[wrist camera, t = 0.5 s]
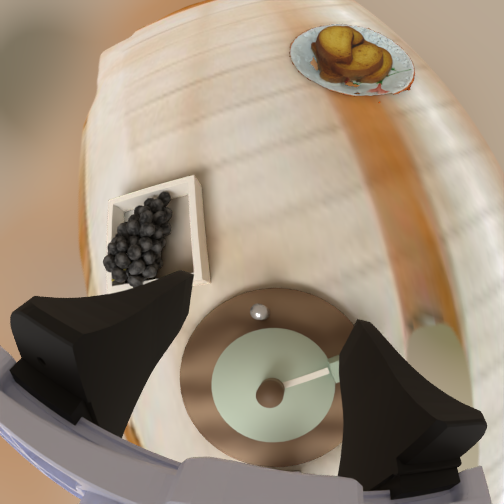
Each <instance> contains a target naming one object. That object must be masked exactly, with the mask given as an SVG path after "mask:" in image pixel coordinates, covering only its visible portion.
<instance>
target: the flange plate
mask: <svg viewBox="0 0 504 504" xmlns="http://www.w3.org/2000/svg"><path fill="white" fill-rule="evenodd" d="M268 378H276V379H279V380H280V381H281V382H282V383H283V385H284V387H285V392H284V396H283V400H282V402H281V403H280V404H279V405H278V406H276V407H274V408H266V407H263V406H261V405H260V404H259V403H258V401H257V399H256V391H257V389H258V388H259V386H260V384H261V383H262V382H263V381H264V380H265V379H268ZM335 382H336V383H338V382H340V381H339V355H337V356H334V357H331V358H329V359H328V358H327V356H326V355H325V353H324V352H323V351H322V350H321V348H320V347H319V346H318V345H317V344H316V343H315V342H313V341H312V340H310V339H309V338H308V337H306V336H304V335H302V334H300V333H297V332H295V331H292V330H288V329H281V328H266V329H260V330H256V331H252V332H250V333H247V334H245V335H243V336H241V337H239V338H238V339H236V340H235V341H234V342H232V343H231V344H230V345H229V346H228V347H227V348H226V349H225V350H224V351H223V353H222V354H221V355H220V357H219V359H218V360H217V363H216V365H215V367H214V371H213V375H212V395H213V399H214V403H215V405H216V407H217V410H218V411H219V413H220V415H221V416H222V418H223V419H224V420H225V421H226V423H228V424H229V425H230V426H231V427H232V428H233V429H234V430H236V431H237V432H239V433H240V434H242V435H244V436H246V437H249V438H251V439H254V440H258V441H263V442H284V441H289V440H292V439H295V438H298V437H300V436H303V435H305V434H306V433H308V432H309V431H311V430H312V429H314V428H315V427H316V426H317V425H318V424H319V423H320V422H321V421H322V420H323V418H324V417H325V416H326V414H327V413H328V411H329V409H330V407H331V404H332V401H333V398H334V393H335Z"/></svg>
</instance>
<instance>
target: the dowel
mask: <svg viewBox="0 0 504 504" xmlns="http://www.w3.org/2000/svg"><path fill="white" fill-rule="evenodd" d="M250 314H251V316H252V317H253V318H254V319H257V320H265V319H267V318H268V317H269V315H270V311H269V309H268V308H267V307H266V306H264V305H262V304H254V305H253V306H252V307H251V309H250Z"/></svg>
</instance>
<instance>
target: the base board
mask: <svg viewBox="0 0 504 504" xmlns="http://www.w3.org/2000/svg"><path fill="white" fill-rule="evenodd" d="M254 304H262V305H264V306H266V307H267V308H268V309H269V311H270V315H269V317H268V318H267V319H265V320H257V319H254V318H253V317H252V316H251V314H250V309H251V307H252V306H253V305H254ZM353 327H354V325H353V324H352V322H351V321H350V320H349V319H348V318H347V317H346V316H345V315H344V314H343V313H342V312H341V311H339V310H338V309H337V308H336V307H334V306H333V305H331V304H330V303H328V302H326V301H325V300H323V299H321V298H318V297H316V296H314V295H312V294H309V293H305V292H302V291H298V290H292V289H285V288H269V289H259V290H255V291H251V292H246V293H244V294H241V295H238V296H235V297H233V298H231V299H230V300H228V301H226V302H224V303H222V304H221V305H219V306H218V307H217V308H215V309H214V310H213V311H211V312H210V313H209V314H208V315H207V316H206V317H205V318H204V319H203V320H202V321H201V322H200V324H199V325H198V326H197V327H196V329H195V330H194V332H193V334H192V335H191V337H190V339H189V341H188V343H187V345H186V347H185V351H184V354H183V357H182V362H181V368H180V387H181V394H182V398H183V402H184V405H185V408H186V410H187V413H188V415H189V417H190V418H191V420H192V422H193V424H194V425H195V427H196V428H197V429H198V431H199V432H200V433H201V434H202V435H203V436H204V437H205V439H206V440H207V441H208V442H210V443H211V444H212V445H213V446H215V447H216V448H217V449H218V450H220V451H222V452H223V453H225V454H226V455H228V456H230V457H233V458H235V459H237V460H239V461H242V462H245V463H248V464H253V465H258V466H265V467H286V466H293V465H298V464H302V463H305V462H309V461H311V460H314V459H316V458H318V457H321V456H322V455H324V454H326V453H327V452H329V451H331V450H332V449H334V448H335V447H336V446H338V445H339V444H340V443H341V442H342V440H343V409H342V399H341V390H340V382H338V383H336V382H335V393H334V398H333V401H332V404H331V407H330V409H329V411H328V413H327V414H326V416H325V417H324V418H323V420H322V421H321V422H320V423H319V424H318V425H317V426H316V427H315V428H314V429H312V430H311V431H309V432H308V433H306V434H305V435H303V436H300V437H298V438H295V439H292V440H289V441H284V442H263V441H258V440H254V439H251V438H249V437H246V436H244V435H242V434H240V433H239V432H237V431H236V430H234V429H233V428H232V427H231V426H230V425H229V424H228V423H226V421H225V420H224V419H223V418H222V416H221V415H220V413H219V411H218V410H217V407H216V405H215V403H214V399H213V395H212V375H213V371H214V367H215V365H216V363H217V360H218V359H219V357H220V355H221V354H222V353H223V351H224V350H225V349H226V348H227V347H228V346H229V345H230V344H231V343H232V342H234V341H235V340H236V339H238V338H239V337H241V336H243V335H245V334H247V333H250V332H252V331H256V330H260V329H266V328H281V329H288V330H292V331H295V332H297V333H300V334H302V335H304V336H306V337H308V338H309V339H310V340H312V341H313V342H315V343H316V344H317V345H318V346H319V347H320V348H321V350H322V351H323V352H324V353H325V355H326V356H327V358H328V359H329V358H331V357H334V356H337V355H339V354H340V352H341V350H342V348H343V346H344V344H345V343H346V341H347V339H348V337H349V335H350V333H351V331H352V329H353ZM284 392H285V387H284V385H283V383H282V382H281V381H280V380H279V379H276V378H268V379H265V380H264V381H263V382H262V383H261V384H260V386H259V388H258V389H257V391H256V399H257V401H258V403H259V404H260V405H261V406H263V407H266V408H274V407H276V406H278V405H279V404H280V403H281V402H282V400H283V396H284Z"/></svg>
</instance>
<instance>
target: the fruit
mask: <svg viewBox="0 0 504 504" xmlns="http://www.w3.org/2000/svg"><path fill="white" fill-rule="evenodd" d="M170 199H171V196H170V194H169V193H168V192H161V193H160V194H159V196H158V198H157V199H153V198H147V199H146V200H145V201H144V206H142V205H138V206H137V207H136V208H135V210H134V214H133V215H131V216H130V218H129V219H128V222H124V223H121V224H120V225H119V226H118V227H117V234H116V235H115V237H114V238H113V239H112V240H111V242H110V243H109V244H108V246H107V249H108V252H107V256H106V257H105V258H104V260H103V264H104V266H105V268H106V271H108V272H111V273H112V278H113V279H112V280H111V281H112V282H113V281H114V280H115V281H117V282H121V283H122V282H124V281H126V279H127V277H128V279H127V281H128V283H129V285H130V286H132V287H133V288H134V287H137V286H140V285H143V282H144V281H147V280H148V278H153V277H154V276H156V274H157V269H159V268H161V267H162V263H163V262H162V259H161V251H162V248H163V247H164V246H165V245H166V239H165V238H164V237H163V236H166V235H169V234H170V232H171V225H170V224H168V221H169V219H170V218H171V217H172V211H171V210H170V209H169V208H166V206H167V204H168V203H169V201H170ZM126 253H128V255H127V254H126Z"/></svg>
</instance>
